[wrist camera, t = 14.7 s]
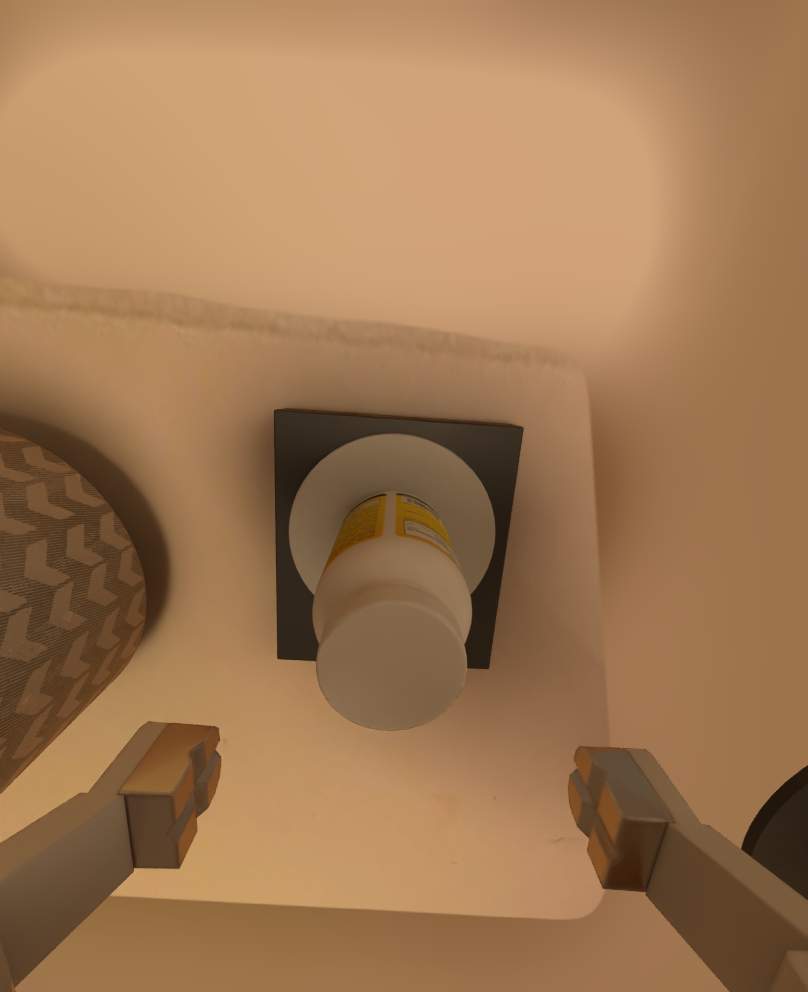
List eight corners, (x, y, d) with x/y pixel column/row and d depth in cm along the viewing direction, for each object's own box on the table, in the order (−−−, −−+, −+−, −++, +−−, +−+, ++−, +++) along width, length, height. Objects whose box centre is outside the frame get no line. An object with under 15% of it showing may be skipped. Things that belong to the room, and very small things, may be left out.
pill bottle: (343, 590, 23) (298, 756, 12) (336, 490, 22) (276, 582, 11) (446, 586, 23) (489, 749, 13) (446, 486, 22) (495, 574, 11)
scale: (512, 424, 24) (529, 428, 21) (481, 647, 28) (491, 678, 25) (285, 408, 24) (268, 410, 20) (287, 637, 28) (273, 668, 24)
